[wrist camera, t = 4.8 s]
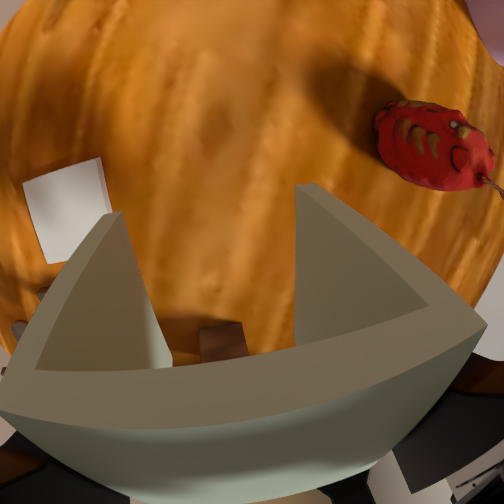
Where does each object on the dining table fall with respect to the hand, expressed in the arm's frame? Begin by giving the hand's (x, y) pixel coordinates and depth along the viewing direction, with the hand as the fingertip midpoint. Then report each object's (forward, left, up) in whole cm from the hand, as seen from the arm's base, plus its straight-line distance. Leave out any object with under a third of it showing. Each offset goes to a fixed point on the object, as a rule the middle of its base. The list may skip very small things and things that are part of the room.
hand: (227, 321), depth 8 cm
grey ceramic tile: (+11, -1, -12) cm, 16 cm away
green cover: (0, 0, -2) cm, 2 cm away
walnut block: (+1, +14, -12) cm, 19 cm away
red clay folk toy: (-16, -4, -13) cm, 21 cm away
